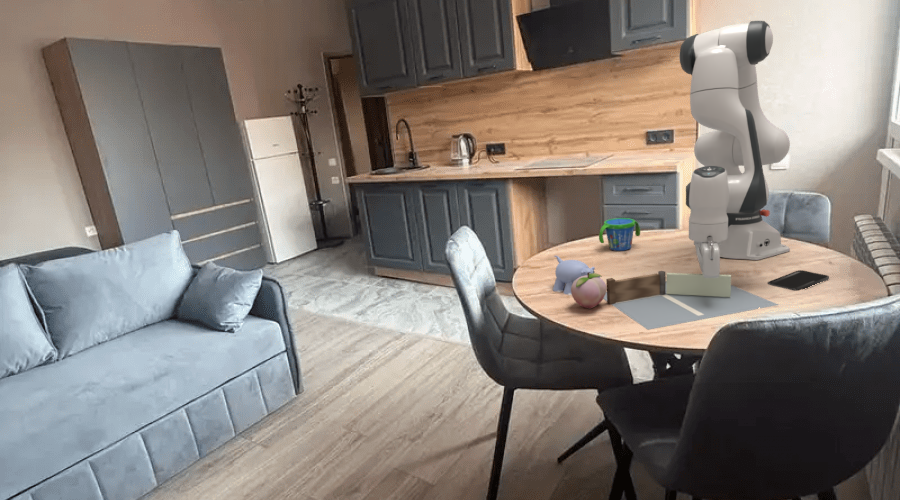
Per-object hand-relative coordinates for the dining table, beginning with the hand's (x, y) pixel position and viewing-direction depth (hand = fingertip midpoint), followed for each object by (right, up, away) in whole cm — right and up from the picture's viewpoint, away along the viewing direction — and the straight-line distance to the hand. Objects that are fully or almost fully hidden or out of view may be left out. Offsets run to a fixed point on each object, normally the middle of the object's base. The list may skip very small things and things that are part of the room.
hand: (706, 283), depth 129 cm
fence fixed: (-17, -4, +2) cm, 18 cm away
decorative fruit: (-31, -7, 0) cm, 32 cm away
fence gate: (-3, -3, -1) cm, 4 cm away
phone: (+25, 0, +2) cm, 25 cm away
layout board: (-7, -4, -1) cm, 9 cm away
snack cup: (-6, +9, +49) cm, 51 cm away
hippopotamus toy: (-30, -3, +14) cm, 34 cm away
